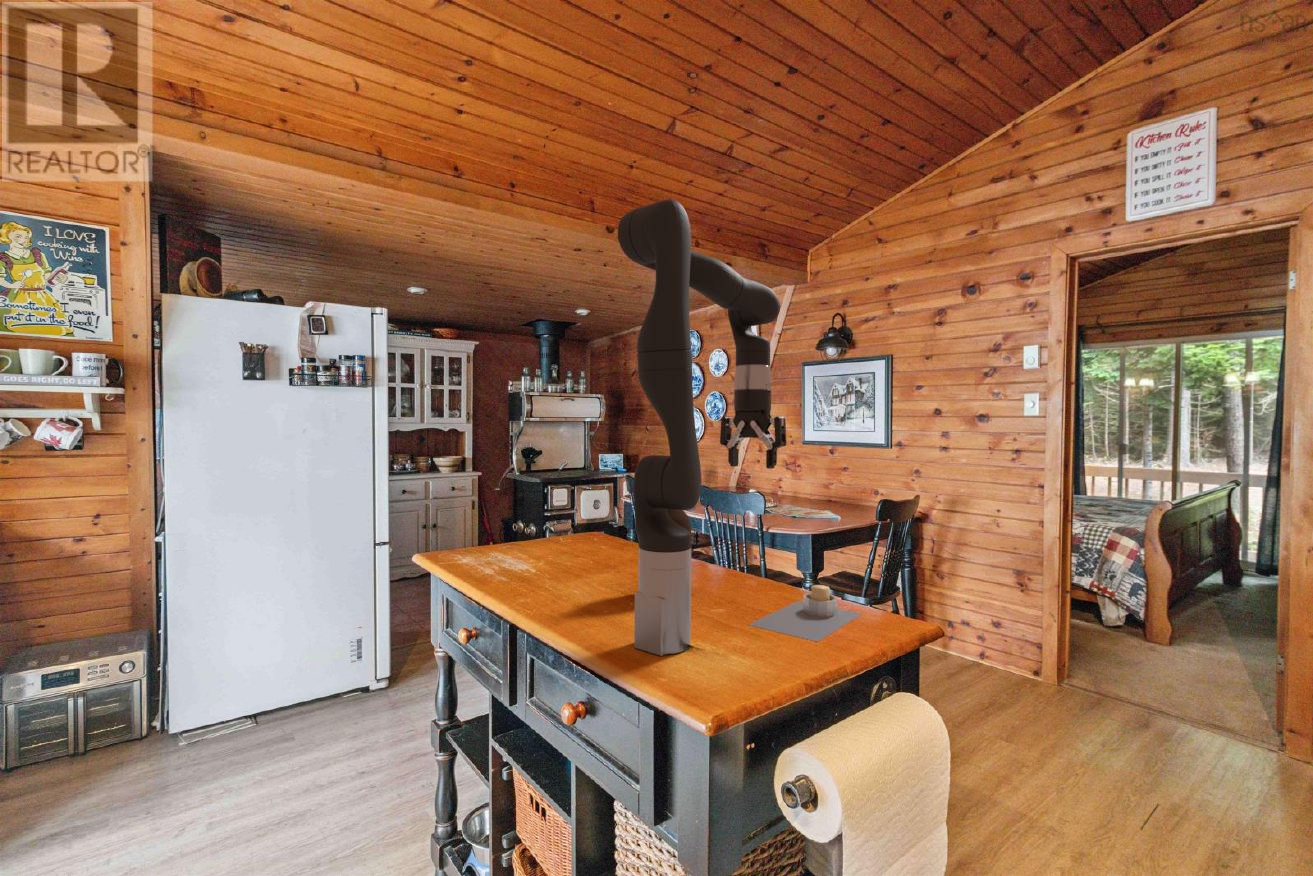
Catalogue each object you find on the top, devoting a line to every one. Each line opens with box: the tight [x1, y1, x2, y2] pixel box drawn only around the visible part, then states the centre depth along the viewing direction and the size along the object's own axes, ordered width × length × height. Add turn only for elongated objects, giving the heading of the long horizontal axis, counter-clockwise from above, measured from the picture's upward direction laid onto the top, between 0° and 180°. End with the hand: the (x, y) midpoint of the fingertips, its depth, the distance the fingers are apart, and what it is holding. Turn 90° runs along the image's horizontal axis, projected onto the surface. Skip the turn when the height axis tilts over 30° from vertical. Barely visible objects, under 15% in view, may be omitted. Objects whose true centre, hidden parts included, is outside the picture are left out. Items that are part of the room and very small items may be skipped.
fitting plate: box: [747, 584, 863, 643], centre depth 118 cm, size 21×14×6 cm, turn 140°
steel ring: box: [802, 592, 839, 617], centre depth 123 cm, size 7×7×3 cm
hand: (752, 467), depth 124 cm, fingers open, 8 cm apart
